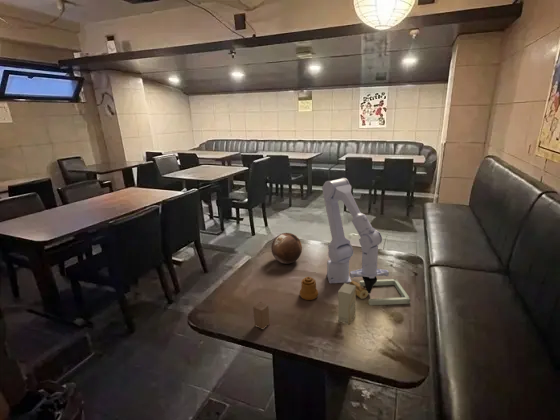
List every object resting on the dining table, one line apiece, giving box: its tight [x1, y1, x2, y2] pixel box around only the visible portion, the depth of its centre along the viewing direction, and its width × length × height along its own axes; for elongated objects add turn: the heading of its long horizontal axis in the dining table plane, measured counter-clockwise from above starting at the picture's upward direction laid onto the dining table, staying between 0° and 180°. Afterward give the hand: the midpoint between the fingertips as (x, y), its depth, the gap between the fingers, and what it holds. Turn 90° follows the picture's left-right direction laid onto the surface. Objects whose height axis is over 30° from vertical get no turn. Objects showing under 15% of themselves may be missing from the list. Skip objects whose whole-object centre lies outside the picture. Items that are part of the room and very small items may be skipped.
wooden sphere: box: [271, 232, 303, 265], centre depth 149 cm, size 15×15×15 cm
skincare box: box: [337, 283, 357, 325], centre depth 106 cm, size 6×4×12 cm
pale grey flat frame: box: [359, 278, 411, 306], centre depth 121 cm, size 15×14×2 cm
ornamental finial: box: [299, 276, 319, 301], centre depth 121 cm, size 8×8×8 cm
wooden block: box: [252, 301, 271, 328], centre depth 105 cm, size 4×4×8 cm
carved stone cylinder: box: [349, 280, 369, 300], centre depth 121 cm, size 8×4×4 cm, turn 18°
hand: (368, 292), depth 121 cm, fingers closed
